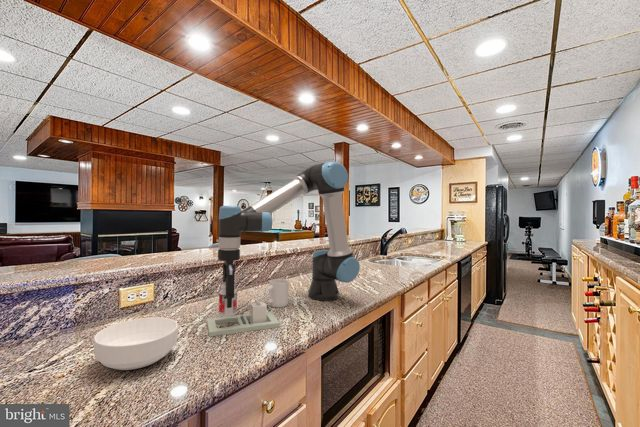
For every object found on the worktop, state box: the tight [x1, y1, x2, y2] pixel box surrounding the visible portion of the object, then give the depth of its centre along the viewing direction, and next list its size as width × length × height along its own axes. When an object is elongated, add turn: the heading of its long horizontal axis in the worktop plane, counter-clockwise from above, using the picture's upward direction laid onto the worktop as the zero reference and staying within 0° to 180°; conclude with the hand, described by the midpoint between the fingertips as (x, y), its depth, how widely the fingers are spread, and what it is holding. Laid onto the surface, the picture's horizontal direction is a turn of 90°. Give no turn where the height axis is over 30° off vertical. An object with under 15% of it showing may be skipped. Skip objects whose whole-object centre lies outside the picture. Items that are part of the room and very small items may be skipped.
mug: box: [264, 278, 290, 308], centre depth 132 cm, size 9×12×11 cm
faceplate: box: [206, 311, 281, 338], centre depth 109 cm, size 24×13×2 cm, turn 114°
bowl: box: [93, 316, 179, 371], centre depth 82 cm, size 20×20×8 cm
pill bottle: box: [218, 281, 238, 317], centre depth 106 cm, size 6×6×11 cm
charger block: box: [249, 301, 268, 324], centre depth 111 cm, size 5×5×7 cm
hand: (227, 313), depth 106 cm, fingers closed on pill bottle, 6 cm apart
